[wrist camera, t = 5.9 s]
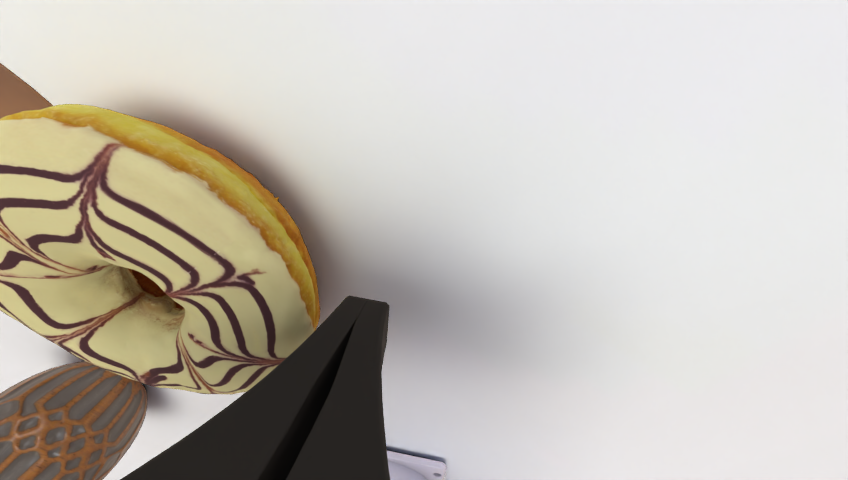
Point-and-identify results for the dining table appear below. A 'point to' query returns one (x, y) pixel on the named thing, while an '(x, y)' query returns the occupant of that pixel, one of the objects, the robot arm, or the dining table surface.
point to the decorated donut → (148, 251)
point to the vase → (68, 423)
